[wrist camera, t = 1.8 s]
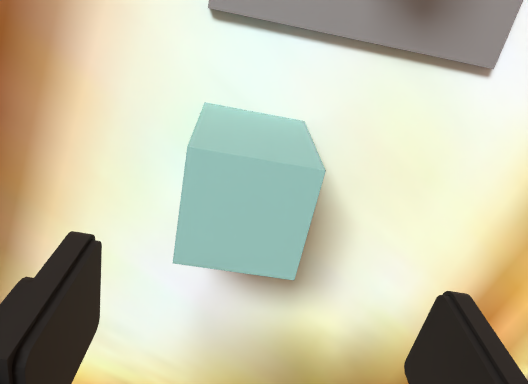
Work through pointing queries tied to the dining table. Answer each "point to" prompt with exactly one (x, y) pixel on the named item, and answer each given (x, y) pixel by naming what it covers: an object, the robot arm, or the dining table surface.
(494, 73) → the dining table surface
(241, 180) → the teal rectangular block
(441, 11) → the grey plate with knob
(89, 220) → the dining table surface
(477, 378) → the robot arm
